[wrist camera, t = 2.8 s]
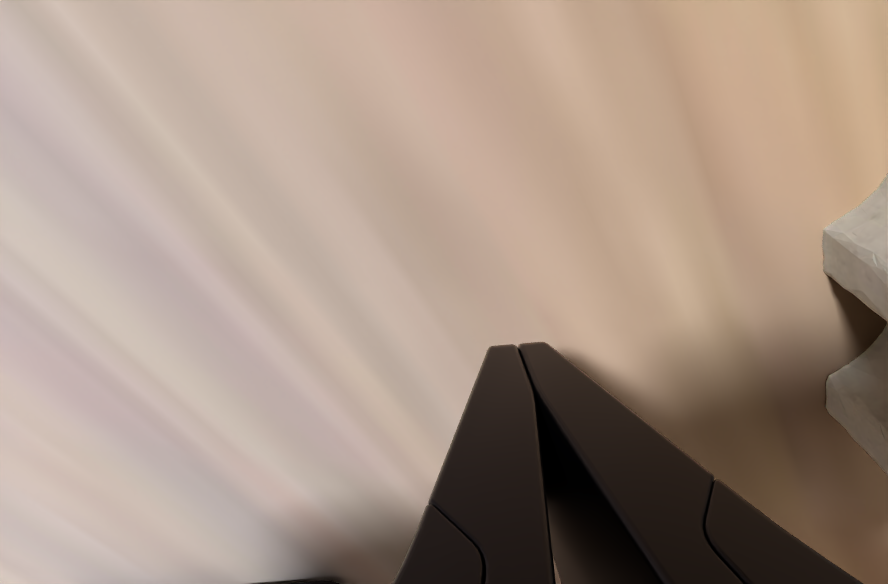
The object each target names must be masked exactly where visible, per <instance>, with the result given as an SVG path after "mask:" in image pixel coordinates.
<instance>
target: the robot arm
mask: <svg viewBox="0 0 888 584" xmlns="http://www.w3.org/2000/svg"><path fill="white" fill-rule="evenodd" d="M428 504H429V505H428V506H426V508H425V511H424V513H423V516H422V518H421V521H420V524H419V526H418V529H417V531H416V533H415V536H414V538H413V540H412V542H411V545H410V547H409V549H408V552H407V554H406V556H405V559H404V561H403V563H402V565H401V567H400V569H399V571H398V573H397V575H396V577H395V579H394V581H393V583H392V584H556V582H555V573H554V564H553V557H554V560H555V563H556V567H557V570H558V573H559V576H560V580H561V583H562V584H863V583H862V582H860V581H859V580H857V579H856V578H854V577H853V576H851V575H850V574H848V573H847V572H845V571H844V570H842V569H841V568H839V567H838V566H836V565H835V564H833V563H832V562H830V561H829V560H827V559H826V558H824V557H823V556H822V555H820V554H819V553H817V552H816V551H814V550H813V549H811V548H810V547H809V546H807V545H806V544H804V543H803V542H801V541H800V540H799V539H797V538H796V537H794V536H793V535H791V534H790V533H788V532H787V531H786V530H784V529H783V528H781V527H780V526H779V525H777V524H776V523H775V522H773V521H772V520H771V519H770V518H768V517H767V516H766V515H764V514H763V513H762V512H760V511H759V510H758V509H756V508H755V507H754V506H752V505H751V504H750V503H748V502H747V501H746V500H744V499H743V498H742V497H741V496H739V495H738V494H737V493H736V492H734V491H733V490H732V489H730V488H729V487H728V486H727V485H725V484H724V483H723V482H722V481H720V480H718V479H716V480H714V476H713V475H712V474H711V473H710V472H709V471H707V470H706V469H705V468H704V467H702V466H701V465H700V464H699V463H697V462H696V461H695V460H694V459H692V458H691V457H690V456H689V455H687V454H686V453H685V452H683V451H682V450H681V449H680V448H678V447H677V446H676V445H675V444H673V443H672V442H671V441H670V440H668V439H667V438H666V437H665V436H663V435H662V434H661V433H660V432H658V431H657V430H656V429H654V428H653V427H652V426H651V425H649V424H648V423H647V422H646V421H644V420H643V419H642V418H641V417H639V416H638V415H637V414H636V413H634V412H633V411H632V410H631V409H629V408H628V407H627V406H625V405H624V404H623V403H622V402H620V401H619V400H618V399H617V398H615V397H614V396H613V395H612V394H610V393H609V392H608V391H607V390H605V389H604V388H603V387H602V386H600V385H599V384H598V383H596V382H595V381H594V380H593V379H591V378H590V377H589V376H588V375H586V374H585V373H584V372H583V371H581V370H580V369H579V368H578V367H576V366H575V365H574V364H573V363H571V362H570V361H569V360H567V359H566V358H565V357H564V356H562V355H561V354H560V353H559V352H557V351H556V350H555V349H554V348H552V347H551V346H550V345H549V344H547V343H545V342H534V343H523V344H520V345H519V346H518V348H517V346H515V345H512V344H511V345H499V346H491V347H489V349H488V350H487V353H486V355H485V358H484V361H483V363H482V366H481V368H480V371H479V373H478V376H477V379H476V381H475V384H474V386H473V389H472V391H471V394H470V396H469V399H468V402H467V404H466V407H465V409H464V412H463V414H462V417H461V420H460V422H459V425H458V427H457V430H456V432H455V435H454V437H453V440H452V443H451V445H450V448H449V450H448V453H447V455H446V458H445V460H444V463H443V466H442V468H441V471H440V473H439V476H438V478H437V481H436V484H435V486H434V489H433V491H432V494H431V496H430V499H429V502H428ZM552 554H553V555H552ZM292 584H339V583H336V582H333V581H314V582H303V583H292Z"/></svg>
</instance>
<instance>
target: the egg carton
mask: <svg viewBox="0 0 888 584" xmlns="http://www.w3.org/2000/svg"><path fill="white" fill-rule="evenodd" d="M822 248H823V256H824V260H823V271H824V273H825V274H826V275H828V276H830V277H831V278H833V279H834V280H835V281H836V282H837V283H838V284H839V285H841V286H842V287H843V288H844V289H846V290H848V291H849V292H851V293H853V294H854V295H855V296H856V297H857V298H858V299H860V300H861V301H862V302H863V303H864V304H865V305H867V306H868V307H869V308H870V309H871V310H873V311H874V312H875V313H877V314H878V315H879V316H881V317H882V318H883V319H885V320H886V321H887V324H886V326H885V328H884V330H883V332H882V333H881V334H880V335H879V336H878V338H877V339H876V340H875V341H874V342H873V343H872V345H871V346H870V347H869V348H868V349H867V350H866V351H864V352H863V353H862V354H861V355H860V356H859V357H857V358H856V359H854V360H853V361H851V362H850V363H849V365H845V366H843V367H842V368H841V369H839V370H838V371H836V372H834V373H832V374H831V375H829V376H828V379H827V382H826V396H827V402H826V405H825V406H826V408H827V411H828V413H829V414H830V415H831V416H832V417H833V418H834V419H835V420H837V421H838V422H839V423H840V424H841V425H842V426H843V427H844V428H845V429H846V430H847V431H848V433H849V434H850V435H851V437H852V438H853V440H854V441H855V442H856V443H858V444H859V445H860V446H861V447H862V448H863V449H864V450H865V451H866V453H867V454H869V456H870V457H871V458H872V459H873V460H874V461H875V462H876V463H877V464H878V465H879V466H880V468H881V469H882V470H883V471H884V472H885V473H886V475H887V476H888V174H887V175H886V177H885V178H884V180H883V181H882V183H881V184H880V186H879V187H878V188H877V190H875V191H874V192H873V193H872V194H871V195H870V196H869V197H868V198H867V199H866V200H865V201H864V202H862V203H861V204H860V205H859V206H858V207H856V208H855V209H853V210H851V211H850V212H848V213H847V214H845V215H844V216H842V217H841V218H839V219H837V220H836V221H834V222H832V223H831V224H830V225H828V226H827V227H826V228H824V229H823V243H822Z"/></svg>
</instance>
